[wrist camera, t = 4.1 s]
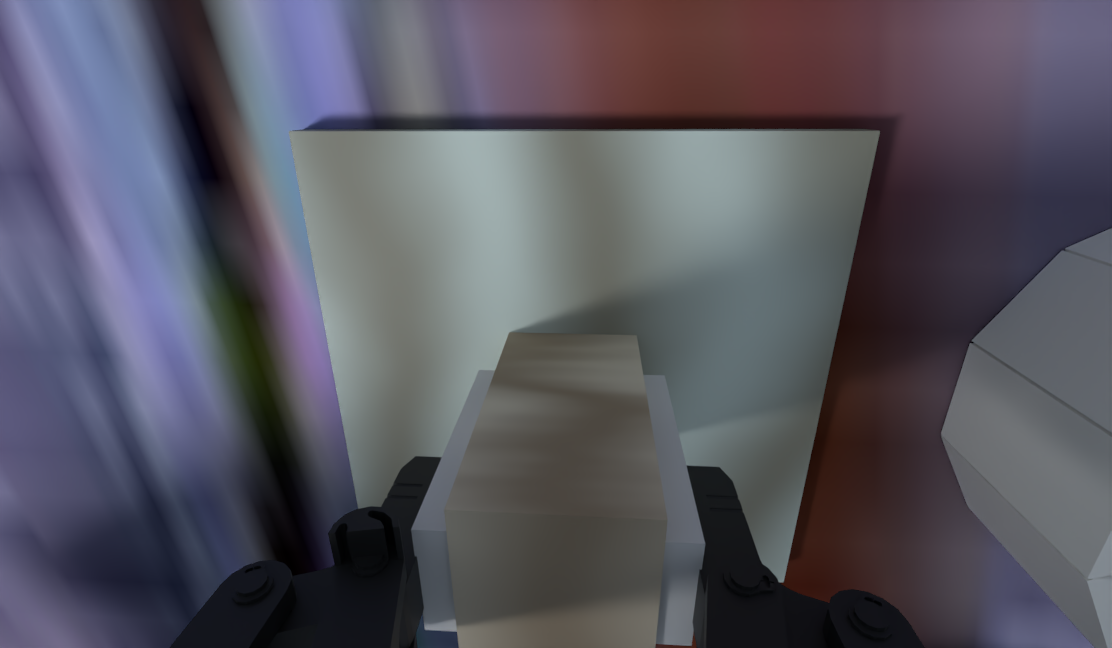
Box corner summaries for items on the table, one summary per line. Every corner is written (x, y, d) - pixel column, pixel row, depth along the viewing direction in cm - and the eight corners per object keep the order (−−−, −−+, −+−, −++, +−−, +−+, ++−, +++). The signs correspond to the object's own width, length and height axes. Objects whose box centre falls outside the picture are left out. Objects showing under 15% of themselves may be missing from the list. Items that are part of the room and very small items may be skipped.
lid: (378, 538, 23) (248, 803, 14) (309, 128, 16) (2, 165, 8) (773, 557, 22) (888, 856, 13) (859, 128, 15) (1183, 169, 7)
